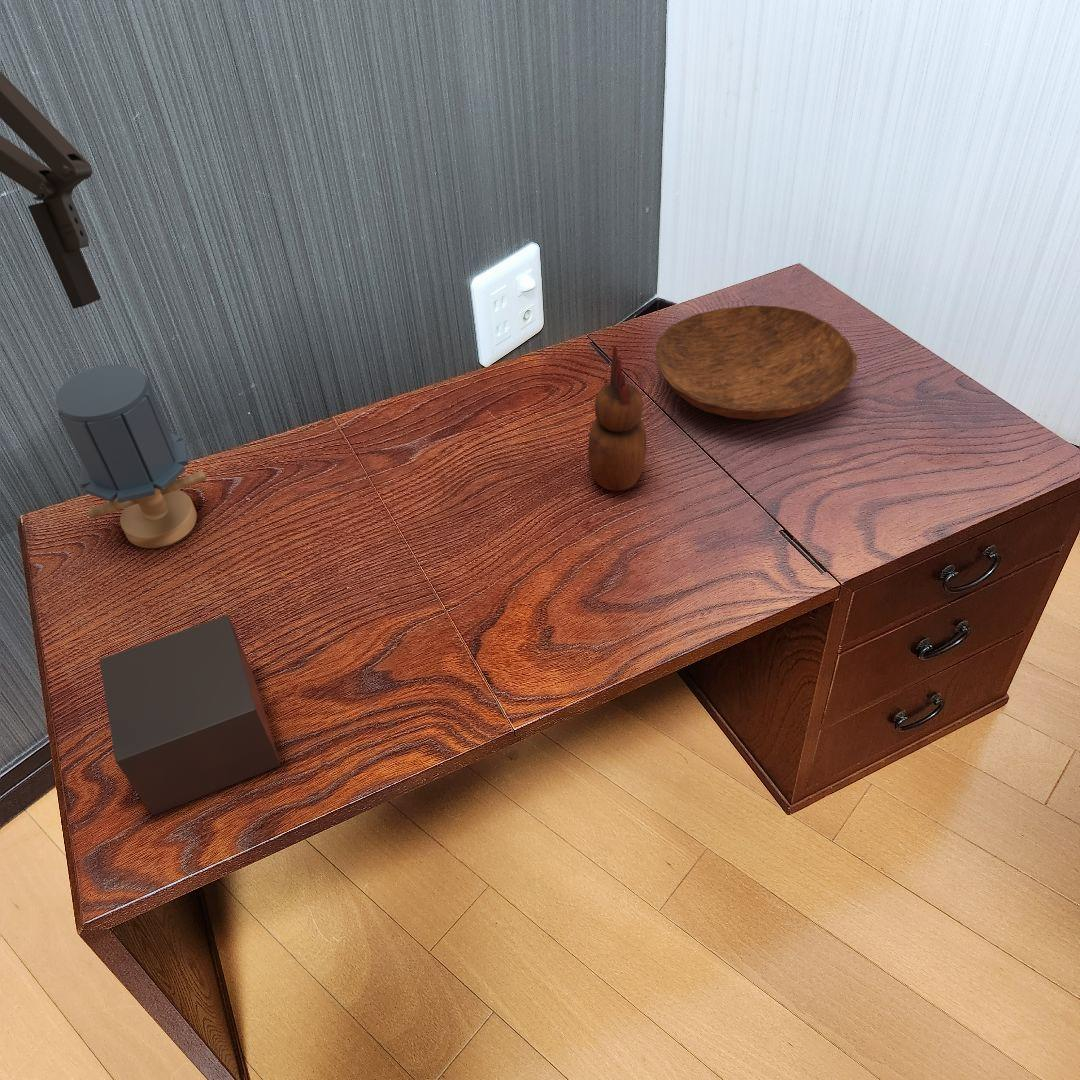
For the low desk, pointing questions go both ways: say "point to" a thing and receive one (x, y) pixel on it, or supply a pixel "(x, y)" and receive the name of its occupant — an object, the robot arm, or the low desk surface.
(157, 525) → the hat stand
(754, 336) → the bowl
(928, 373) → the low desk surface
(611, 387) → the wooden figurine
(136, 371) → the hat
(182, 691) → the riser
